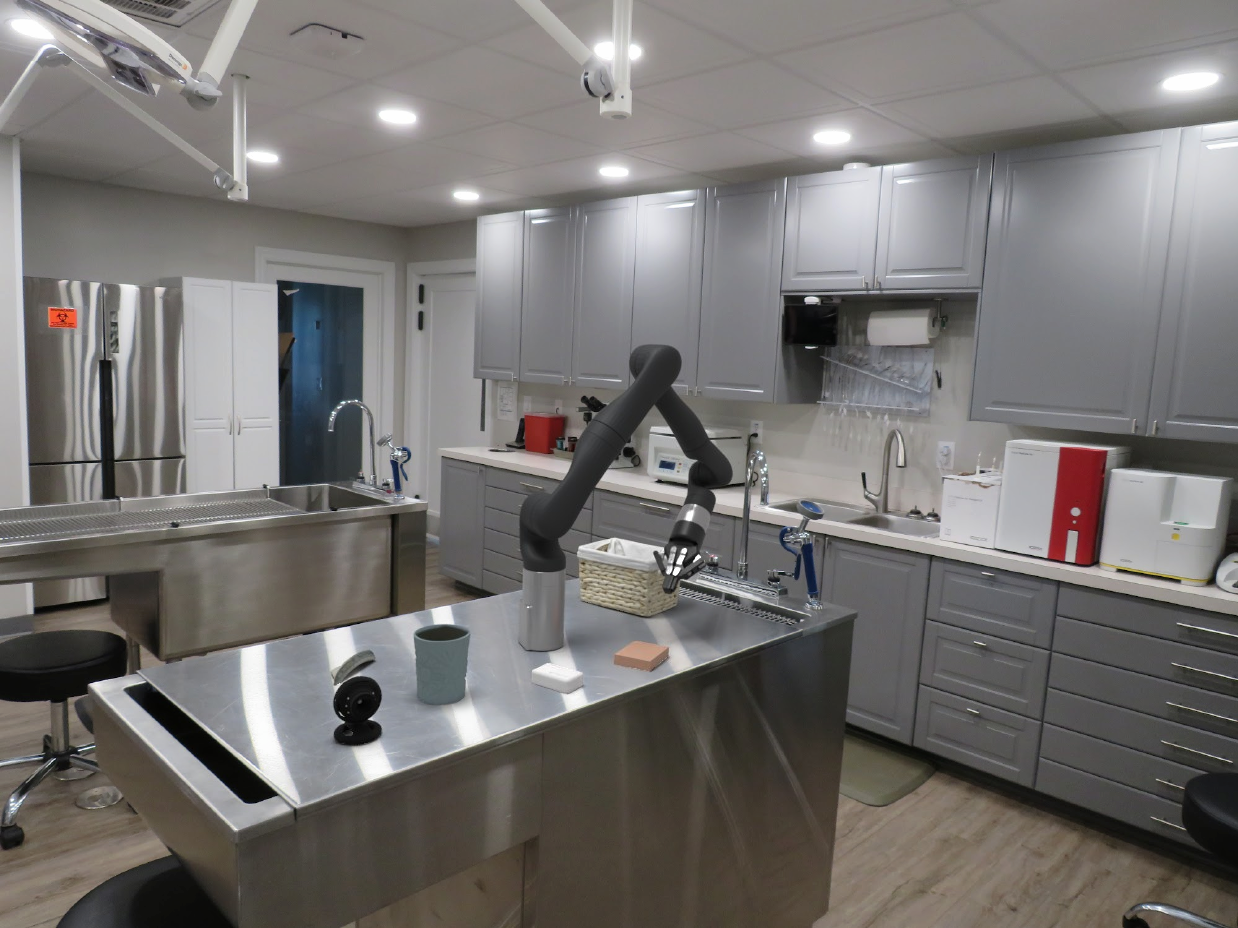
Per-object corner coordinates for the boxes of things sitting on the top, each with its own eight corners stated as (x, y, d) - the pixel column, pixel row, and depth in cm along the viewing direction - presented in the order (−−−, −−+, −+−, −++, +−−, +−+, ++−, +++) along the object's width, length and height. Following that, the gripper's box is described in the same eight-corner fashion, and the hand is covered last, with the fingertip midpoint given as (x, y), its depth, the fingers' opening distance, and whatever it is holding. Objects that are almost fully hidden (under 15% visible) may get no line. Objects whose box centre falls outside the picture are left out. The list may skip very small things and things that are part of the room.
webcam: (341, 750, 130) (340, 689, 129) (326, 732, 136) (326, 673, 135) (389, 738, 135) (389, 679, 133) (373, 721, 141) (373, 664, 139)
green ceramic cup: (414, 708, 146) (414, 642, 145) (411, 686, 156) (412, 624, 154) (472, 703, 149) (473, 639, 148) (466, 682, 159) (467, 621, 157)
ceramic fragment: (336, 687, 155) (336, 667, 155) (313, 683, 156) (313, 663, 156) (378, 663, 168) (378, 645, 168) (356, 659, 170) (356, 641, 169)
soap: (584, 686, 159) (584, 671, 159) (567, 695, 155) (567, 680, 154) (547, 675, 164) (547, 661, 164) (529, 684, 160) (530, 669, 159)
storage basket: (572, 600, 214) (574, 545, 212) (611, 588, 227) (613, 535, 225) (647, 621, 200) (650, 561, 198) (684, 607, 213) (687, 550, 211)
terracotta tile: (634, 640, 180) (614, 654, 171) (669, 646, 176) (650, 661, 167) (634, 651, 180) (614, 666, 171) (668, 658, 176) (649, 673, 168)
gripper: (660, 515, 192) (635, 578, 183) (714, 522, 186) (691, 587, 177) (668, 533, 198) (644, 596, 188) (720, 541, 192) (698, 605, 183)
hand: (667, 592), depth 183 cm, fingers closed
